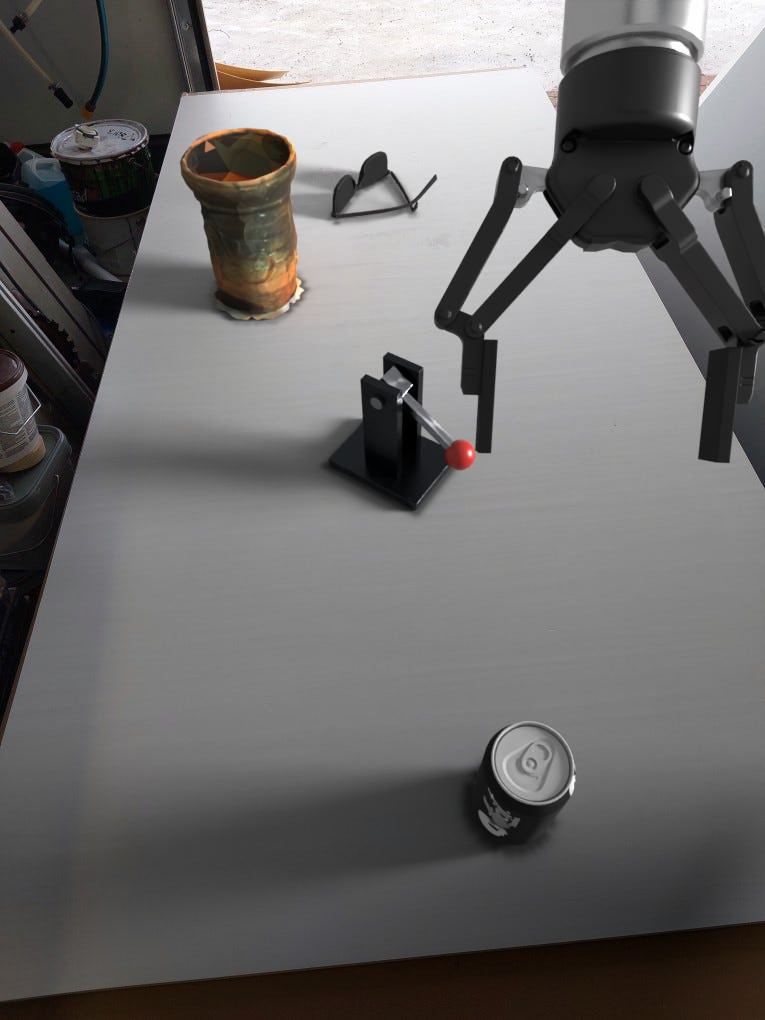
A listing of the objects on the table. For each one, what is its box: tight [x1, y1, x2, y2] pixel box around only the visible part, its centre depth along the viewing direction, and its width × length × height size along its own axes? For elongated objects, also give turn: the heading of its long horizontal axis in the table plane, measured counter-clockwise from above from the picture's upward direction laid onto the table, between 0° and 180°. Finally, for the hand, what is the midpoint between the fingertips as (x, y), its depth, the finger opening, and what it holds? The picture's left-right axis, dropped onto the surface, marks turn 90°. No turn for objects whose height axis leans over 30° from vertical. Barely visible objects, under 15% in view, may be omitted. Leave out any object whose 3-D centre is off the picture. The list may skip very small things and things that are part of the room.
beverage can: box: [471, 720, 577, 846], centre depth 53 cm, size 7×7×12 cm
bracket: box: [327, 351, 452, 512], centre depth 75 cm, size 12×9×14 cm
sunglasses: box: [330, 150, 438, 220], centre depth 111 cm, size 17×14×5 cm
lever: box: [379, 366, 476, 471], centre depth 71 cm, size 13×3×3 cm
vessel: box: [179, 127, 305, 321], centre depth 92 cm, size 14×14×20 cm
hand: (596, 457), depth 41 cm, fingers open, 13 cm apart
